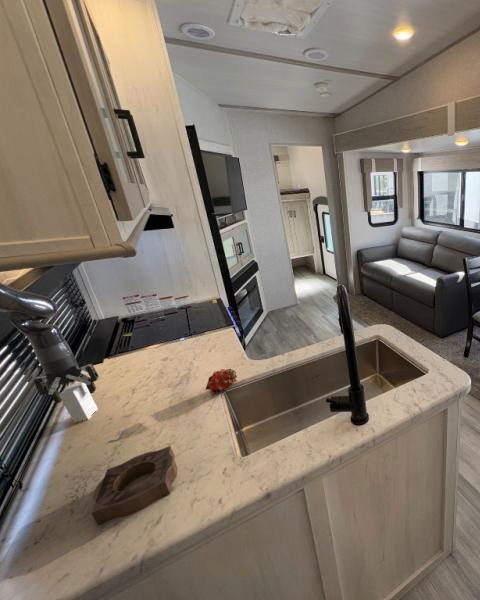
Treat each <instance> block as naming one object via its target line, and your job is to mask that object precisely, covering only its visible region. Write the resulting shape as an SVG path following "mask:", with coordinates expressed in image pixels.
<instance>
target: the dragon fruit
mask: <svg viewBox="0 0 480 600" xmlns="http://www.w3.org/2000/svg"><path fill="white" fill-rule="evenodd" d="M237 378H238V377H237V372H236V370H234V369H231V368H227V369H225V368H220V369H219V370H217V371H215V372H213V373H212V374H211V375H210V376H209V377H208V379H207V380H208V381H207V383H206V386H205V389H204V390H205V391H206V392H208V391H209V393H210V394H216V393H218V392H221V391H222V390H224V392H226V391H227V390H228V389H230V388H231V387H232V386H233V385H234V383H236V382H238V381H237ZM218 390H219V391H218Z"/></svg>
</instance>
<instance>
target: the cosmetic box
mask: <svg viewBox="0 0 480 600" xmlns="http://www.w3.org/2000/svg"><path fill="white" fill-rule="evenodd" d="M86 385H87V384H85V383H82V382H78V383H72V384H69V385H68V386H67V387H65V389H63V390H62V391H61V392H59V393H60V394H59V396H60V398H61V400H62V401H61V402H62V403H63V405H64V407H65V409H66V411H67V412H68V414H69V416H70V418H71V419H72V422H73V423H75V424H76V423H80V422H84V421H87V420H86V419H88V420H90V418H91V417H92V416H93V415H94V414H95V413H96V412H97V411H98V410H99V408H98V406H97V404H96V402H95V401H94V399H93V397H92V394H90V392H89V390H88V388H87V386H86ZM95 411H96V412H95ZM94 412H95V413H94ZM93 413H94V414H93ZM92 414H93V415H92ZM91 415H92V416H91ZM82 420H83V421H82ZM77 421H78V422H77Z"/></svg>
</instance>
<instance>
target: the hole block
mask: <svg viewBox="0 0 480 600" xmlns="http://www.w3.org/2000/svg"><path fill="white" fill-rule="evenodd" d="M175 458H176V456H175V454H174V451H173V448H172V446H171V445H169V446H167V447H164V448H161V449H158V450H154V451H147V452H145V453H141V454H139V455H136V456H134V457H131V458H130V459H128V460H126V461H125V462H123V463H121V464H118V465H116V466H113V467H110V468H107V469H106V471H105V474H104V477H103V478H102V480H101V481H100V482H99V483H98V484H97V485H96V487H95V490H94V491H93V495H92V500H93V502H94V505H93V507H92V509H91V513H90V514H91V516H92V518H93V519H94V521H95V523H96V524H97V525H98V526H99V525H102V524H104V523H107V522H109V521H111V520H114V519H116V518H121V517H127V516H130V515H132V514H133V513H134V514H135V513H137V512H139V511H141V510H143V509H145V508H146V507H148V506H150V504H152V503H154V502H155V501H158V500H159V499H162V498H163V497H166V496H168V495H171V492H172V485H173V483H174V481H175V479H176V478H177V475H178V466H177V463H176V461H175ZM147 474H151V475H150V476H149V477H148V478H146V480H145V481H143V482H141V483H140V484H138V485H136V486H134V487H132V488H129V489H127V490H124V489H125V488H126V487H127V486H129V484H131V483H132V482H134V481H135V480H137V479H138V478H140V477H143V476H146V475H147Z"/></svg>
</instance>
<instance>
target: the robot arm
mask: <svg viewBox="0 0 480 600" xmlns="http://www.w3.org/2000/svg"><path fill="white" fill-rule="evenodd" d="M58 309H59V308H58V306H57V303H56V302H55V301H54V300H52V299H51V298H50V297H48V296H45V295H42V294H38V293H33V292H29V291H25V290H19V289H16V288H13V287H11V286H9V285H7V284H5V283H2V282H0V312H3V313H5V312H9V314H10V321H11V322H10V321H9V322H10V323H11V324H12V325H13V326H15V328H17V330H19V331H20V332H21V334H23V335H24V336H25V337H26V338H27V339H28V341H29V344H30V345H31V347H32V349H33V351H34V354H35V357H36V360H37V361H38V363H39V365H40V366H41V368H42V370H43V371H44V373H45V375H43V376H42V375H38V376H36V377H35V379H33V383H34V385H35V388H36V389H37V391H38V394H39V395H40V396H45V395H49V396H50V397H51V399H52V401H53V402H54V403H57V404H60V403H62V402H63V401H62V400H61V398H60V396H59V394H60V393H61V392H60V391H59V390H57V389H58V387H59V385H61V386H64V385H66V384H71V383H74V382H78V383H85V385H86V387H87V389H88V391H89V392H90V394H91V395H92V394H94V393H95V391H96V390H97V387H96V384H95V382H96V381H97V380H98V379H99V377H100V375H99V373H98V372H97V370H96V369H95V367H94V365H93V363H88V364H86V365H84V366H81V365H79V363H78V361H77V359H76V357H75V355H74V353H73V351H72V348H71V347H70V345H69V343H68V342H67V341H66V339H65V336H64V335H63V333H62V331H61V329H60V328H59V326H58V325H56V324H52V323H51V324H48V323H42V322H41V321H44V320H48V319H51V318H53V317H54V316H56V315H57V314H58ZM82 371H83V372H85V373H87V374H88V376H87V374H85V373H82ZM47 381H50V382H52V384H51V386H50V388H48V386H47V384H46V382H47Z"/></svg>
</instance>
